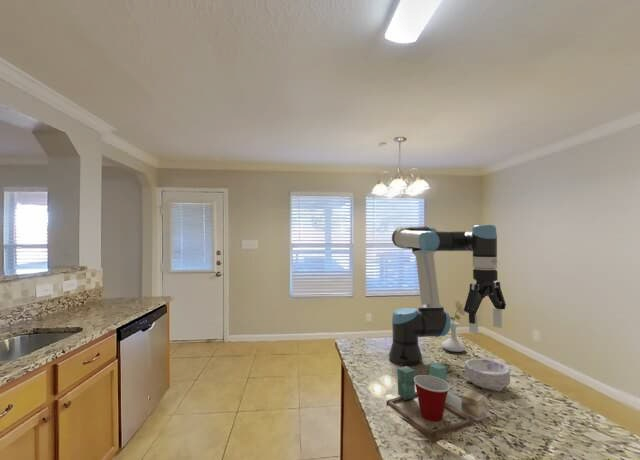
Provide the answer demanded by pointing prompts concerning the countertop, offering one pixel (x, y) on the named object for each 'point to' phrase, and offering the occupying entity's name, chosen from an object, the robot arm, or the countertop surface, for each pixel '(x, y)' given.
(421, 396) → the plastic cup
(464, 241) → the robot arm
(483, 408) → the beech cube
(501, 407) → the countertop surface
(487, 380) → the paper bowls
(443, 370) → the sled
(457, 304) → the flower in vase
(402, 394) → the frame
